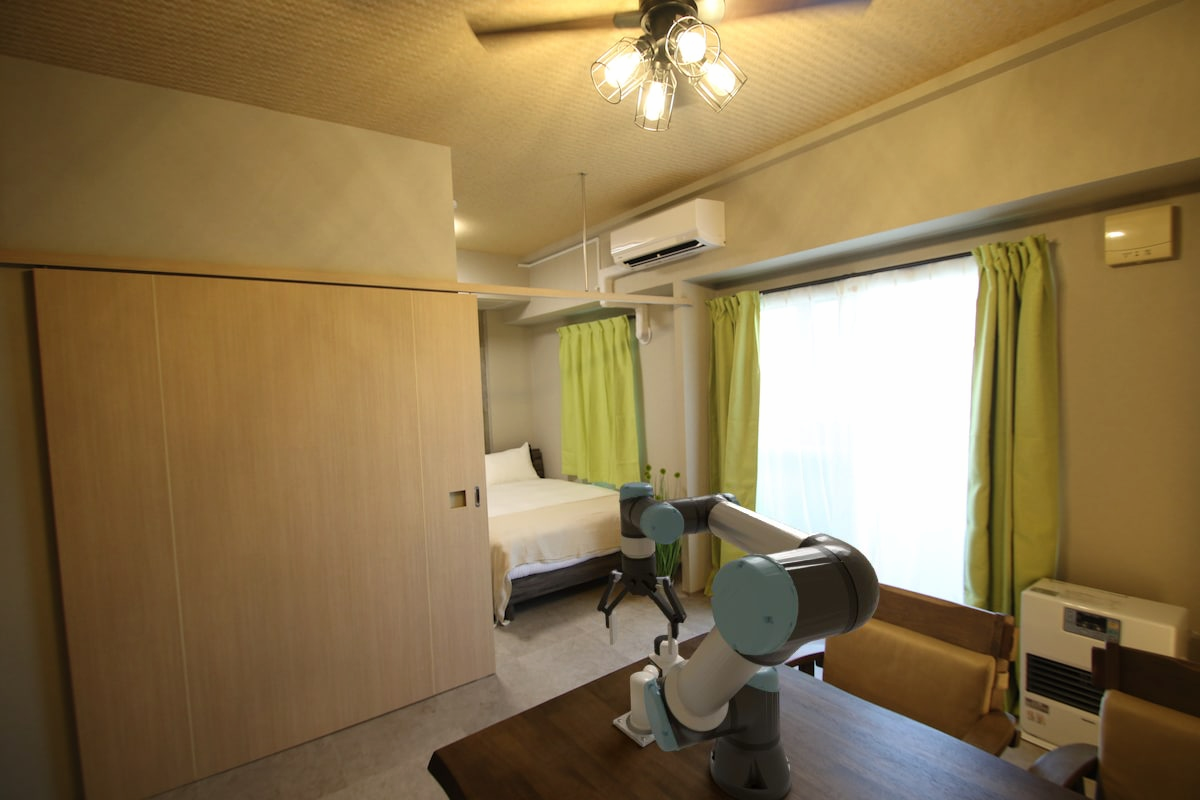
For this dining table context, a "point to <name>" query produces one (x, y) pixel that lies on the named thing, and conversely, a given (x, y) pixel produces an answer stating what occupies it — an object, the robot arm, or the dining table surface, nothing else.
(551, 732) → the dining table surface
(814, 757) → the dining table surface
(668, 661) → the medicine bottle
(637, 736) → the flange plate
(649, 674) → the elbow
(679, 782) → the dining table surface
